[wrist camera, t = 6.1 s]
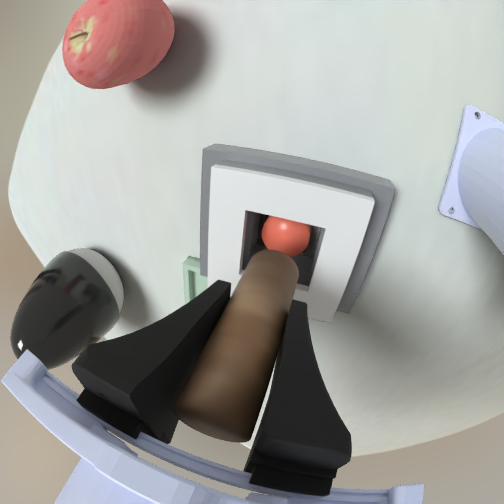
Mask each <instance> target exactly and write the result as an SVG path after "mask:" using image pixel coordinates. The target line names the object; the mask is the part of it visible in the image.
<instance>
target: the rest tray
mask: <svg viewBox="0 0 504 504" xmlns="http://www.w3.org/2000/svg"><path fill="white" fill-rule="evenodd" d="M183 278H184V294H185V304H187V303H188V302H189V301H191V300H192V299H194V298H195V297H196V296H198V295H199V294H200V293H202V292H203V291H204V290H206V289H207V288H208V277H205V276H202V275H200V259H198V258H194V257H190V256H189V257H188V258H187V259H186V260H185V261H184V263H183Z"/></svg>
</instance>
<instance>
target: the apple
mask: <svg viewBox="0 0 504 504" xmlns="http://www.w3.org/2000/svg"><path fill="white" fill-rule="evenodd" d="M174 32H175V28H174V19H173V17H172V14H171V12H170V9H169V8H168V7H167V5H166V4H165V3H164V2H163V0H88V1H87V2H85V3H84V4H83V5H82V6H81V7H80V8H79V9H78V11H77V12H76V13H75V14H74V16H73V17H72V19H71V21H70V23H69V25H68V27H67V29H66V32H65V36H64V39H63V47H62V50H63V59H64V63H65V66H66V68H67V70H68V72H69V74H70V75H71V76H72V77H73V78H74V79H75V80H76V81H77V82H78V83H80V84H82V85H84V86H86V87H89V88H93V89H106V88H111V87H115V86H119V85H123V84H127V83H129V82H132V81H134V80H137V79H139V78H141V77H143V76H144V75H146V74H147V73H149V72H150V71H151V70H153V69H154V68H155V67H156V66H157V65H158V64H159V63H160V62H161V61H162V59H163V58H164V57H165V55H166V54H167V52H168V50H169V48H170V46H171V44H172V41H173V38H174Z"/></svg>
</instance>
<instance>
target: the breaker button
mask: <svg viewBox="0 0 504 504" xmlns="http://www.w3.org/2000/svg"><path fill="white" fill-rule="evenodd" d="M310 234H311V225H309V224H305V223H301V222H297V221H292V220H288V219H284V218H279V217H275V216H270V215H269V217H268V219H267V220H266V222H265V224H264V226H263V228H262V239H263V242H264V244H265V246H266V247H267V248H268V249H269V250H277V251H280V252H283V253H285V254H286V255H288V256H289V257H294V256H297V255H299V254H301V253H302V252H303V251H304V250H305V249H306V248H307V246H308V243H309V239H310Z"/></svg>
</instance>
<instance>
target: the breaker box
mask: <svg viewBox="0 0 504 504" xmlns="http://www.w3.org/2000/svg"><path fill="white" fill-rule="evenodd" d="M395 190H396V189H395V187H394V186H393V184H392V183H391V181H390V180H388V179H385V178H381V177H378V176H374V175H371V174H367V173H364V172H360V171H356V170H352V169H348V168H344V167H340V166H336V165H332V164H328V163H324V162H319V161H315V160H310V159H306V158H301V157H296V156H291V155H285V154H280V153H275V152H269V151H263V150H257V149H251V148H244V147H237V146H230V145H222V144H213V145H211V146H208V147H206V148H204V149H203V155H202V177H201V210H200V275H202V276H205V277H208V287H209V286H211V285H212V284H213V283H214V282H216V281H217V280H222V281H226V282H230V283H231V295H230V297H231V296H232V294H233V292H234V290H235V288H236V286H237V284H238V282H239V280H240V278H241V277H242V275H243V273H244V271H245V269H246V267H247V265H248V263H249V261H250V259H251V258H252V257H253V256H254V255H255V254H256V253H258V252H260V251H263V250H269V249H268V248H267V247H266V246H262V245H258V244H257V237H258V229H259V222H260V214H266V215H270V216H275V217H279V218H284V219H288V220H292V221H297V222H301V223H305V224H309V225H314V226H318V227H321V228H320V232H319V236H318V240H317V243H316V247H315V251H314V255H313V258H312V257H308V256H304V255H300V254H299V255H297V256H294V257H291V258H292V259H293V261H294V262H295V263H296V265H297V267H298V271H299V277H298V281H297V285H296V289H295V293H294V297H293V299H294V300H298V301H302V302H306V304H307V305H308V306H307V313H308V318H311V319H315V320H319V321H323V322H328V323H331V322H332V320H333V317H334V315H335V312H336V311H340V312H345V313H349V312H350V310H351V308H352V306H353V304H354V301H355V299H356V297H357V295H358V292H359V290H360V288H361V285H362V283H363V280H364V278H365V275H366V273H367V271H368V268H369V266H370V263H371V260H372V258H373V255H374V253H375V250H376V247H377V244H378V242H379V239H380V236H381V233H382V230H383V228H384V225H385V222H386V219H387V216H388V213H389V209H390V206H391V203H392V200H393V197H394V193H395Z"/></svg>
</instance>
